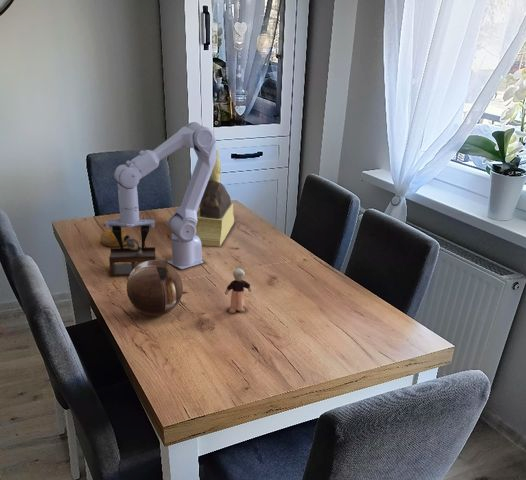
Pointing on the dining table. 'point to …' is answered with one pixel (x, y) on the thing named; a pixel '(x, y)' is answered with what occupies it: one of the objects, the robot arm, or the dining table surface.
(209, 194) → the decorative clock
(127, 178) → the robot arm
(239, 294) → the grandmother figurine
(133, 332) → the dining table surface
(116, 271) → the shelf
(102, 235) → the bagel
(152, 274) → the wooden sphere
